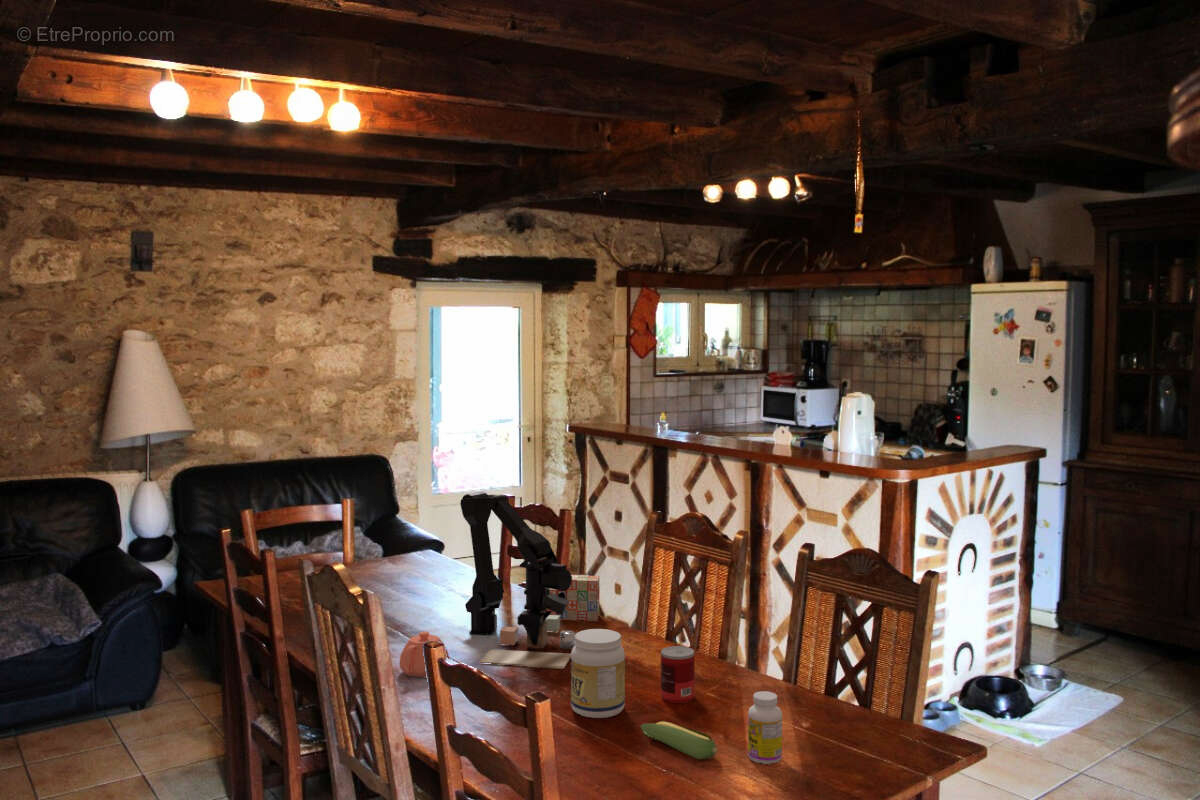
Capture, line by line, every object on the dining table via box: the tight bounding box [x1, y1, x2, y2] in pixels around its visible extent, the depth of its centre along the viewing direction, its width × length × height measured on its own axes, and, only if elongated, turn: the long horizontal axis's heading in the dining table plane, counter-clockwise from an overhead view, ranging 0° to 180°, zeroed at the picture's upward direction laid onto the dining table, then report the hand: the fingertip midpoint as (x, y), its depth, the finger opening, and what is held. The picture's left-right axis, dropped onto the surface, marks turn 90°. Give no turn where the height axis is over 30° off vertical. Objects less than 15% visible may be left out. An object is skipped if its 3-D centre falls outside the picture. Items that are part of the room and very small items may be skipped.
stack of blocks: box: [526, 574, 601, 622], centre depth 292 cm, size 21×6×12 cm, turn 85°
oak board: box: [479, 649, 571, 670], centre depth 254 cm, size 22×10×1 cm, turn 80°
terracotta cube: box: [499, 626, 519, 646], centre depth 268 cm, size 4×4×4 cm
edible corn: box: [640, 720, 718, 760], centre depth 200 cm, size 5×20×5 cm, turn 43°
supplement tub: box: [570, 628, 626, 719], centre depth 220 cm, size 12×12×17 cm
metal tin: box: [559, 630, 576, 650], centre depth 264 cm, size 4×4×4 cm
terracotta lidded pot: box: [399, 631, 450, 679], centre depth 243 cm, size 12×14×10 cm
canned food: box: [660, 645, 695, 704], centre depth 227 cm, size 8×8×11 cm
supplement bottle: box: [747, 690, 783, 765], centre depth 194 cm, size 7×7×13 cm
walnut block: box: [526, 622, 548, 649], centre depth 265 cm, size 4×4×6 cm
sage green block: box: [545, 615, 561, 633], centre depth 279 cm, size 4×4×4 cm
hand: (536, 641), depth 265 cm, fingers closed on walnut block, 4 cm apart
